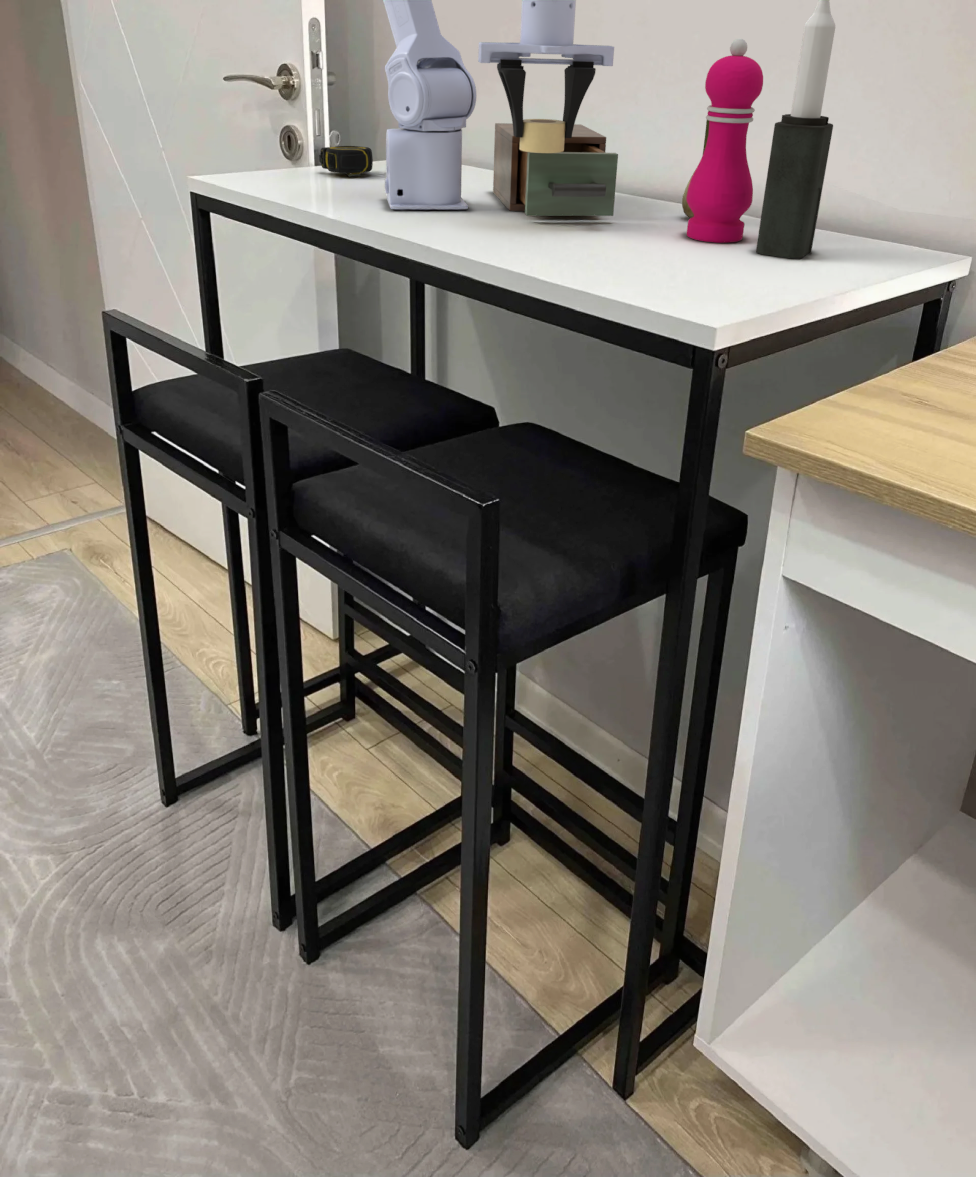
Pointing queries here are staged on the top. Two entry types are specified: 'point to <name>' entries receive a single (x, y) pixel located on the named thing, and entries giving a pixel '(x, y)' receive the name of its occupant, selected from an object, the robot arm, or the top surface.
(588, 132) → the cabinet
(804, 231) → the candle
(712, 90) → the pepper mill
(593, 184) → the drawer
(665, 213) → the top surface
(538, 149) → the tape roll
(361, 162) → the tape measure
